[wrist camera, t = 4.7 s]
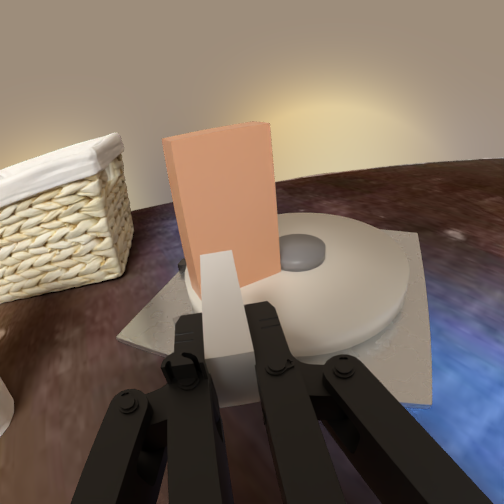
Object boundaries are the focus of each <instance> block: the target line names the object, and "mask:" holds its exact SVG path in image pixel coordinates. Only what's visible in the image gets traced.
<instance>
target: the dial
mask: <svg viewBox="0 0 504 504" xmlns="http://www.w3.org/2000/svg"><path fill="white" fill-rule="evenodd" d="M162 143H163V149H164V155H165V161H166V167H167V172H168V178H169V183H170V188H171V193H172V198H173V204H174V209H175V213H176V218H177V223H178V228H179V233H180V237H181V242H182V247H183V251H184V256H185V260H186V264H187V265H186V269H185V283H186V287H187V291H188V295H189V299H190V303H191V307H192V309H193V311H194V313H202V298H201V272H200V255H203V254H209V253H216V252H222V251H228V250H232V253H233V258H234V263H235V267H236V272H237V277H238V281H239V286H240V291H241V295H242V300H243V304H244V305H246V304H252V303H258V302H263V301H268V302H269V303H270V304H271V305H273V306H274V307H275V309H276V312H277V315H278V318H279V321H280V324H281V326H282V329H283V332H284V335H285V338H286V341H287V344H288V347H289V350H290V352H291V354H292V355H293V356H294V357H299V356H315V355H322V354H328V353H333V352H336V351H340V350H344V349H347V348H350V347H352V346H355V345H357V344H360V343H362V342H364V341H366V340H368V339H370V338H371V337H373V336H375V335H377V334H378V333H379V332H380V331H382V330H383V329H384V328H386V327H387V326H388V325H389V324H390V323H391V322H392V321H393V320H394V318H395V317H396V316H397V314H398V313H399V311H400V309H401V308H402V305H403V302H404V300H405V295H406V290H407V285H408V280H409V272H410V269H409V262H408V259H407V257H406V254H405V253H404V251H403V249H402V248H401V247H400V246H399V244H398V243H397V242H396V241H395V240H393V239H392V238H391V237H390V236H389V235H387V234H386V233H384V232H383V231H381V230H379V229H377V228H375V227H373V226H371V225H369V224H366V223H364V222H361V221H358V220H355V219H351V218H347V217H342V216H337V215H330V214H322V213H286V214H277V204H276V191H275V178H274V166H273V154H272V144H271V131H270V123H264V122H254V121H252V122H246V123H239V124H233V125H227V126H222V127H216V128H211V129H205V130H200V131H195V132H190V133H185V134H181V135H176V136H172V137H167V138H163V139H162Z"/></svg>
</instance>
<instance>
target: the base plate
mask: <svg viewBox="0 0 504 504" xmlns="http://www.w3.org/2000/svg"><path fill="white" fill-rule="evenodd" d="M379 230H381V229H379ZM381 231H383V232H384V233H386V234H387V235H389V236H390V237H391V238H392V239H393V240H395V241H396V242H397V243H398V244H399V246H400V247H401V248H402V249H403V251H404V253H405V254H406V257H407V259H408V262H409V269H410V272H409V280H408V285H407V290H406V295H405V300H404V302H403V305H402V308H401V309H400V311H399V313H398V314H397V316H396V317H395V318H394V320H393V321H392V322H391V323H390V324H389V325H388V326H387V327H386V328H384V329H383V330H382V331H380V332H379V333H378V334H377V335H375V336H373V337H371V338H370V339H368V340H366V341H364V342H362V343H360V344H357V345H355V346H352V347H350V348H347V349H344V350H340V351H336V352H333V353H328V354H322V355H315V356H299V357H295V358H296V359H297V360H299V361H300V362H303V363H306V364H319V365H324V364H325V363H326V361H327V360H328V359H330V358H331V357H333V356H336V355H340V354H348V355H351V356H354V357H356V358H357V359H359V360H360V361H361V362H362V363H363V364H364V365H365V366H366V367H367V368H368V369H369V370H370V371H371V372H372V374H373V375H374V376H375V377H376V378H377V379H378V380H379V381H380V382H381V383H382V384H383V385H384V386H385V387H386V388H387V390H388V391H389V392H390V393H391V394H392V395H393V396H394V397H395V398H396V399H397V400H398V401H399V402H400V403H401V405H402V406H403V407H408V408H421V409H430V407H431V405H432V360H431V339H430V325H429V313H428V303H427V293H426V285H425V277H424V270H423V263H422V257H421V250H420V244H419V239H418V233H411V232H402V231H392V230H381ZM186 265H187V264H186V260H185V259H182V260H181V261H180V262H179V264H178V268H179V272H178V273H177V274H176V275H175V276H174V277H173V278H172V279H171V280H170V281H169V282H168V283H167V284H166V285H165V286H164V287H163V289H162V290H161V291H160V292H159V293H158V294H157V295H156V296H155V297H154V298H153V299H152V300H151V301H150V302H149V303H148V304H147V305H146V306H145V307H144V308H143V309H142V310H141V311H140V312H139V313H138V314H137V316H136V317H135V318H134V319H133V320H132V321H131V322H130V323H129V324H128V325H127V326H126V327H125V328H124V329H123V330H122V331H121V332H120V334H119V335H118V336H117V337H116V338H117V340H118V342H121V343H124V344H127V345H129V346H132V347H135V348H138V349H141V350H144V351H147V352H149V353H152V354H155V355H158V356H162V357H165V358H166V357H167V356H168V355H170V354H171V353H173V352H174V344H175V343H174V337H175V324H176V322H177V321H178V319H179V317H180V316H182V315H188V314H195V313H194V311H193V309H192V307H191V303H190V299H189V295H188V291H187V287H186V283H185V269H186Z"/></svg>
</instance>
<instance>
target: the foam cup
mask: <svg viewBox="0 0 504 504" xmlns="http://www.w3.org/2000/svg"><path fill="white" fill-rule="evenodd" d="M13 414H14V400H13V398H12V396H11V395H10V393H9V391H8V389H7V388H6V386H5V384H4V383H3V381H2V379H1V377H0V436H1V435H2V434H3V433H4V431H5V430H6V429H7V428H8V427H9V425H10V422H11V419H12V417H13Z"/></svg>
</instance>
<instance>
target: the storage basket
mask: <svg viewBox="0 0 504 504" xmlns="http://www.w3.org/2000/svg"><path fill="white" fill-rule="evenodd" d="M123 151H124V146H123V143H122V140H121V136H120V135H119V134H118V133H116V132H115V133H111V134H109V135H107V136H104V137H100V138H96V139H92V140H88V141H84V142H81V143H77V144H74V145H71V146H68V147H65V148H61V149H59V150H56V151H53V152H50V153H47V154H44V155H41V156H38V157H35V158H32V159H30V160H26V161H24V162H21V163H18V164H15V165H12V166H10V167H7V168H4V169H2V170H0V304H2V303H3V302H11V301H14V300H17V299H24V298H29V297H32V296H36V295H37V296H39V295H42V294H44V293H49V292H56V291H62V290H66V289H69V288H72V287H80V286H82V285H86V284H91V283H98V282H101V281H104V280H109V279H114V278H117V277H120V276H121V275H122V274H123V273H124V271H125V265H126V263H127V258H128V256H129V249H130V248H131V240H132V238H133V232H134V228H133V222H132V217H131V209H130V202H129V198H128V194H127V186H126V183H125V182H124V181H125V177H124V172H123V171H124V165H123V161H122V155H121V153H122V152H123Z"/></svg>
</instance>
